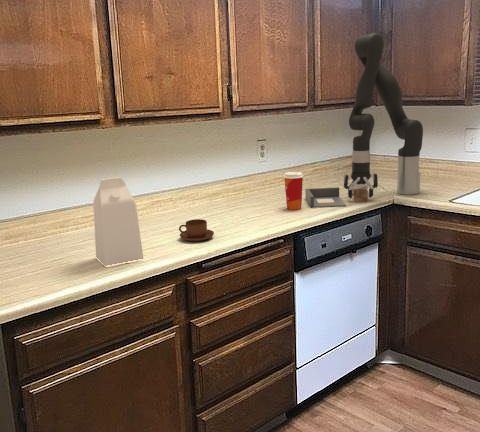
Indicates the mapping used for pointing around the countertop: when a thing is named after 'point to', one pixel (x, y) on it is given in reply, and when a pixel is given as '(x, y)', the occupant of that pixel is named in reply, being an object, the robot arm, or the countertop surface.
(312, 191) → the board
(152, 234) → the countertop surface
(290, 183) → the coffee cup
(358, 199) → the walnut block
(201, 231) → the cup and saucer
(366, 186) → the die
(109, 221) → the milk
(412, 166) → the robot arm
